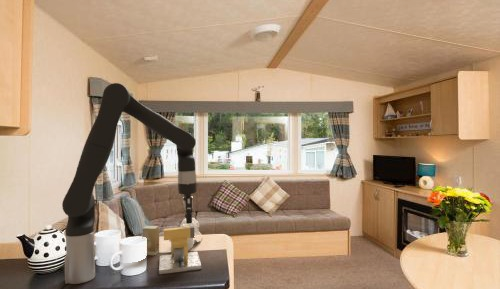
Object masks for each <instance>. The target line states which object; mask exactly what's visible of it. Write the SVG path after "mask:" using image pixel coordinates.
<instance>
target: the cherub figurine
mask: <svg viewBox="0 0 500 289" xmlns="http://www.w3.org/2000/svg"><path fill="white" fill-rule="evenodd" d="M190 226H194V236H197V235H202V233H201V232H200V231H199V230H200V229H199V228H200V223H199V221H198V220H197V219H196V218H195V217H192V223H189V224H187V223H186V218H185V217H184V219H183V220H182V221H181V223H180V225H179V228H180V227H190ZM202 236H203V235H202ZM168 242H170V243H171V240H168ZM187 244H188V251H191V249H192V248H193V247H194V245H195V240H193V238H187Z"/></svg>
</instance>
